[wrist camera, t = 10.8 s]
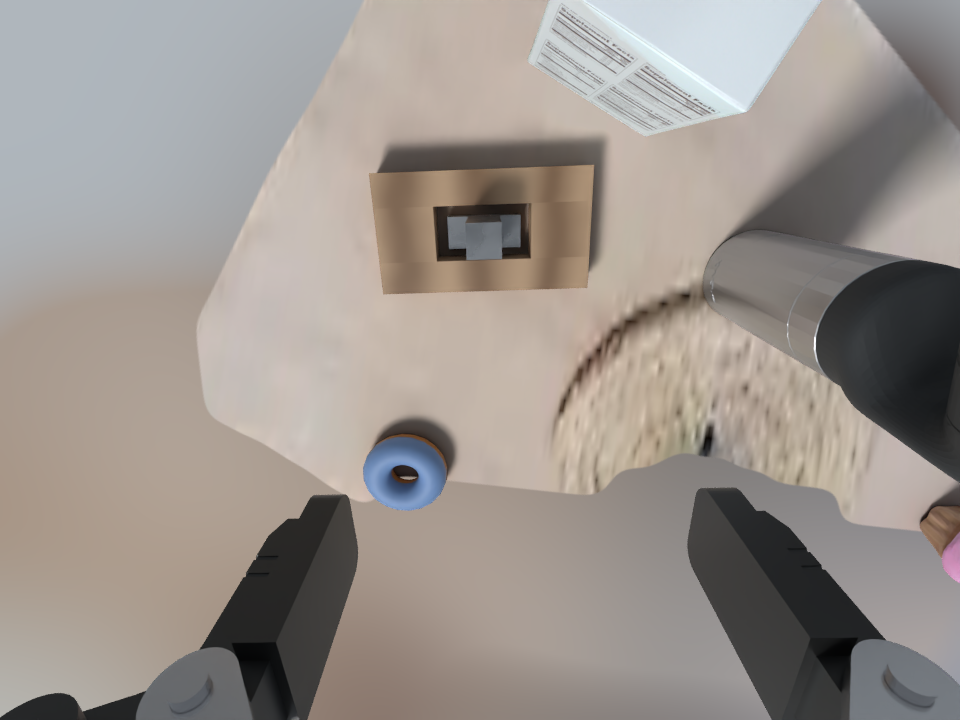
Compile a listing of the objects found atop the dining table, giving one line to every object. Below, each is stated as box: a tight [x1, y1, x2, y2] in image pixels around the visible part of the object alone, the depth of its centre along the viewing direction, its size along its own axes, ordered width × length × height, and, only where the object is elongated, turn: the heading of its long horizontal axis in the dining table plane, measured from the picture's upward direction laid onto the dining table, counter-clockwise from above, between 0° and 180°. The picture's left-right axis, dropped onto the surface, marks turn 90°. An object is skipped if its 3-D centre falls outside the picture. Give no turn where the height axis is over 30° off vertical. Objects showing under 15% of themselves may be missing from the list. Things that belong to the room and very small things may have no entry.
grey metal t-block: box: [447, 214, 521, 260], centre depth 41 cm, size 7×3×8 cm, turn 92°
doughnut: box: [363, 434, 447, 510], centre depth 54 cm, size 10×10×5 cm
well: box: [369, 165, 594, 294], centre depth 43 cm, size 20×11×3 cm, turn 92°
